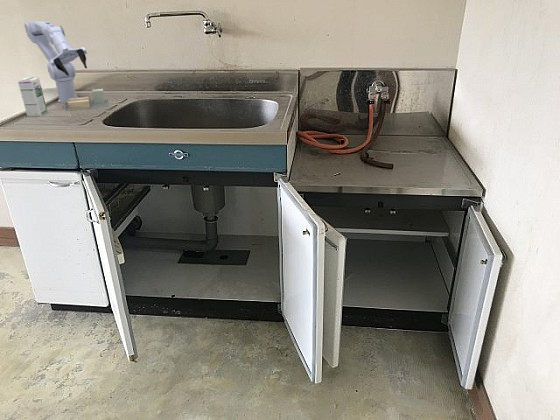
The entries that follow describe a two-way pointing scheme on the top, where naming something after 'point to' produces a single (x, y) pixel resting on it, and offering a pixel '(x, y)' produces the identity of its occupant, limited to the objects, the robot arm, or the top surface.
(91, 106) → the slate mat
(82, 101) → the oak base
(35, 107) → the syrup box
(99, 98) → the sage block
